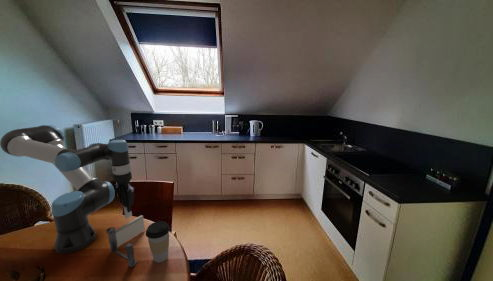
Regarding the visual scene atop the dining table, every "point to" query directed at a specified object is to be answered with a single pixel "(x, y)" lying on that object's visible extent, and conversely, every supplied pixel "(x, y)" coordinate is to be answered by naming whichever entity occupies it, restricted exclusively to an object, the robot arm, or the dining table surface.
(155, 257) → the coffee cup
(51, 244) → the dining table surface
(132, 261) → the post
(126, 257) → the bar
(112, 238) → the hinge post
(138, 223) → the gate
